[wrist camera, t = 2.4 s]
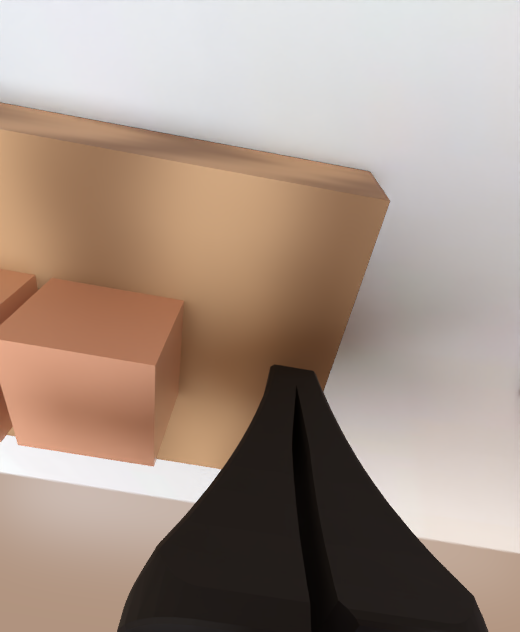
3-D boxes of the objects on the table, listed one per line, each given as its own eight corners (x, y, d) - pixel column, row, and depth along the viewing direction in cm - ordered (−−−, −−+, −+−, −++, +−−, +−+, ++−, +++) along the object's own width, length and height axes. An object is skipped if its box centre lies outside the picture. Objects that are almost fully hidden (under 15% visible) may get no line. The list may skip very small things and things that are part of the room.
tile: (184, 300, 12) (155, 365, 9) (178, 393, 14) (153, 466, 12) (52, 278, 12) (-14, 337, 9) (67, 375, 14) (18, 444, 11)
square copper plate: (370, 171, 12) (390, 200, 10) (291, 424, 19) (292, 480, 16) (-81, 87, 12) (-181, 95, 9) (1, 376, 18) (-44, 426, 16)
